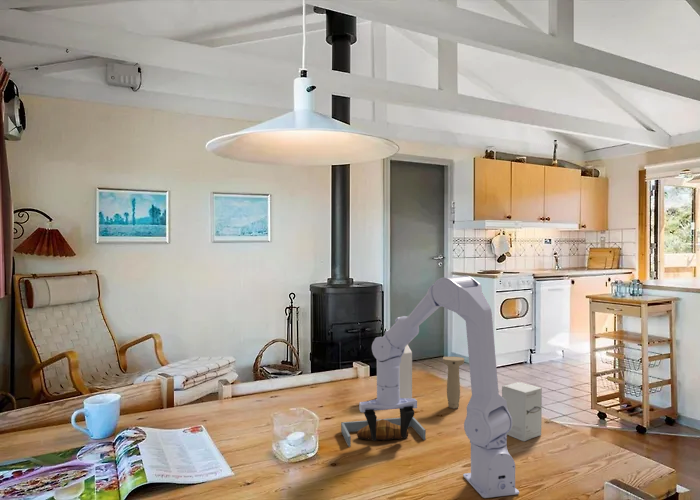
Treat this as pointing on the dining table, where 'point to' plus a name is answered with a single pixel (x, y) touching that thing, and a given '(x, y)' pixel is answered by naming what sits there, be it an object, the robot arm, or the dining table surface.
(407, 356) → the milk carton
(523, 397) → the supplement box
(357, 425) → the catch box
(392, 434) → the croissant
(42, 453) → the dining table surface
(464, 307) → the robot arm
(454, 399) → the handle
